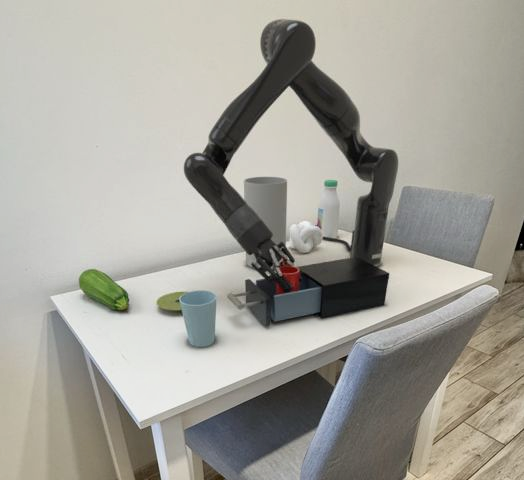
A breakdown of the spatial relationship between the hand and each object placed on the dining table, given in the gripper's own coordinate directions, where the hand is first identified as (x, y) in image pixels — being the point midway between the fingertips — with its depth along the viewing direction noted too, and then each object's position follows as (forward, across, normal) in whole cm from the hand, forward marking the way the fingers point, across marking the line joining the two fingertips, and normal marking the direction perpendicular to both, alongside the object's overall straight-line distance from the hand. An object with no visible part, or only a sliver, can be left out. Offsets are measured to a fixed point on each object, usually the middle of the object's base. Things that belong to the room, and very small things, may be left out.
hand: (294, 286), depth 99 cm
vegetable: (-27, -14, +38) cm, 49 cm away
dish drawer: (+2, -1, +7) cm, 8 cm away
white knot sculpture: (-6, +47, +17) cm, 51 cm away
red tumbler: (+2, 0, +4) cm, 5 cm away
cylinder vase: (-10, +30, +21) cm, 38 cm away
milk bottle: (-4, +66, +15) cm, 68 cm away
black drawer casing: (+11, +12, 0) cm, 16 cm away
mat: (-14, -8, +25) cm, 30 cm away
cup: (-4, -20, +15) cm, 26 cm away
